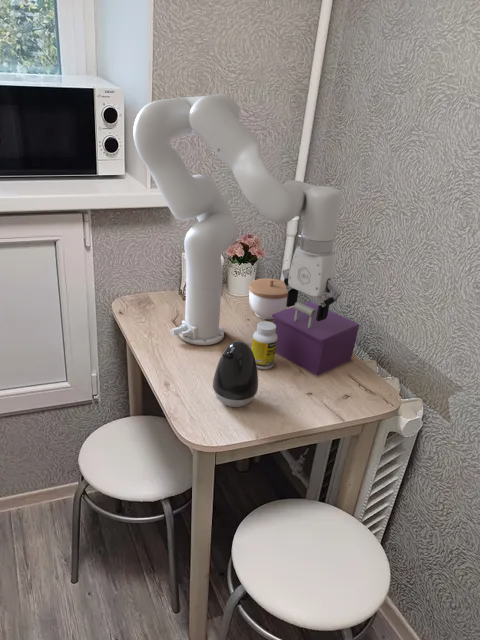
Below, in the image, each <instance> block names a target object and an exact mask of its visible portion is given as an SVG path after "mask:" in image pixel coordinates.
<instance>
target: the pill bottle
mask: <svg viewBox="0 0 480 640" xmlns="http://www.w3.org/2000/svg"><path fill="white" fill-rule="evenodd" d="M275 332H276V325H275V324H274V323H273V322H271V321H267V320H264V321H263V320H262V321H259V322H258V323H257V324H256V330H254V332H253V334H252V341H251V347H250V348H251V350H252V352H253V354H254V357H255V361H256V365H257V369H259V370H267V369H271V368H272V367H274V365H275V361H276V354H277V353H276V346H277V340H278V336H277V334H276V333H275Z"/></svg>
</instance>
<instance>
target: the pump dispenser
mask: <svg viewBox="0 0 480 640" xmlns="http://www.w3.org/2000/svg"><path fill="white" fill-rule="evenodd" d="M251 348H252V347H251V346H250V345H249V344H248V343H247V342H245V341H243V340H235V341H232V342H231V343H229V344H228V345H227V346H226V348H225V349H224V350H223V352H222V353H221V356H220V358H219V360H218V363H217V365H216V369H215V371H214V376H213V380H212V389H213V390H214V393H215V396H216V398H217V399H218V401H220V403H222V404H223V405H225V406H228V407H232V408H240V407H244V406H246V405H248V404H249V403H250V402H251V401H253V399H254V398H255V396H256V394H257V393H258V391H259V390H258V389H259V373H258V368H257V365H256V361H255V357H254V354H253V352H252V350H251Z"/></svg>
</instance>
